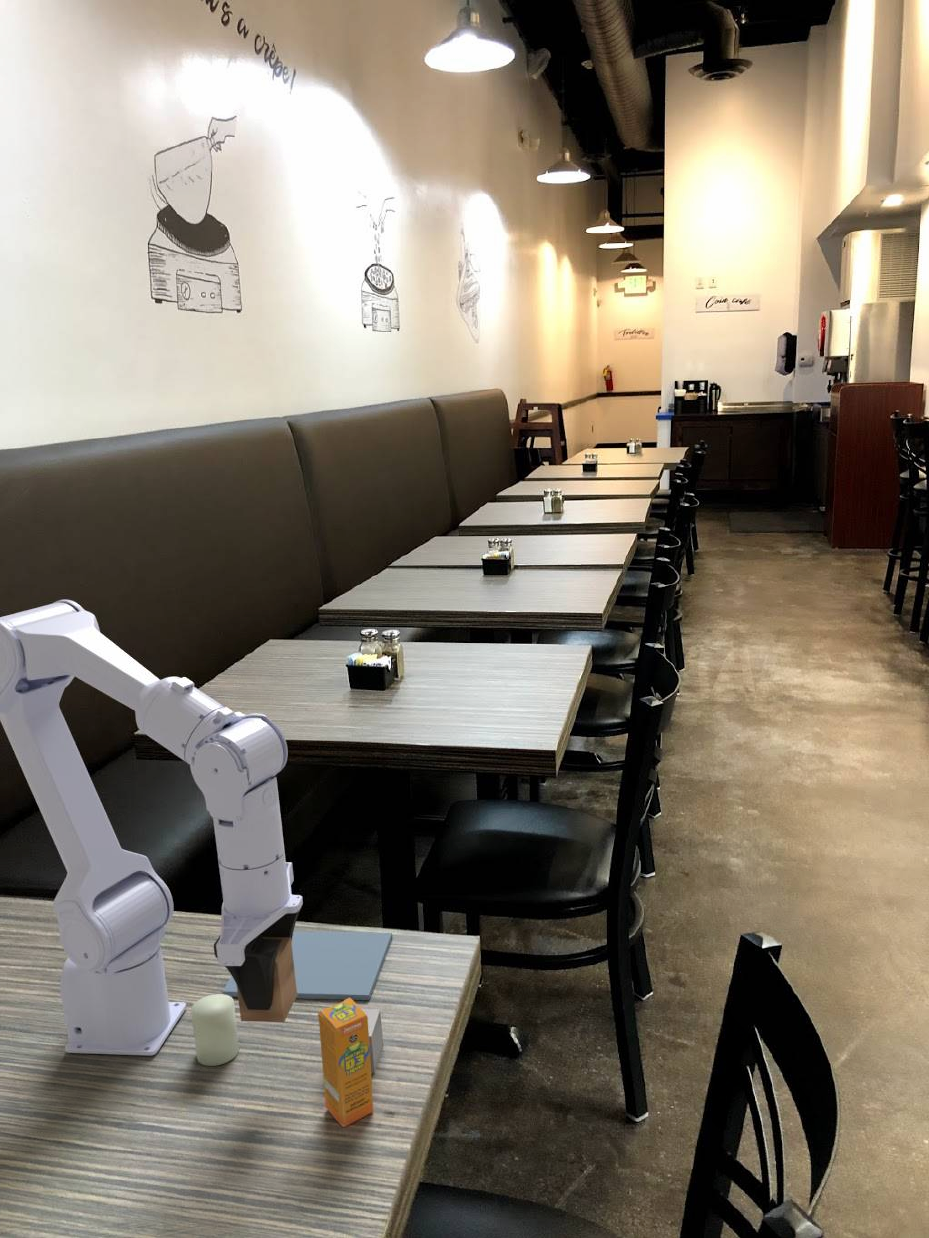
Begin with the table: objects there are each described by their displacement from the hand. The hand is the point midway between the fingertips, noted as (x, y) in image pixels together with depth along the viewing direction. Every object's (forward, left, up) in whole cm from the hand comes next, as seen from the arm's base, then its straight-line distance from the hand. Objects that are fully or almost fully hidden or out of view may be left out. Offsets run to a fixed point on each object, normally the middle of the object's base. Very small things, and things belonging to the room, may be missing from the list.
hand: (267, 992), depth 88 cm
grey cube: (+7, +3, -9) cm, 12 cm away
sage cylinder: (-7, +3, -9) cm, 12 cm away
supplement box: (+8, -4, -9) cm, 13 cm away
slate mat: (-2, +18, -9) cm, 20 cm away
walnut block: (0, 0, -2) cm, 2 cm away
